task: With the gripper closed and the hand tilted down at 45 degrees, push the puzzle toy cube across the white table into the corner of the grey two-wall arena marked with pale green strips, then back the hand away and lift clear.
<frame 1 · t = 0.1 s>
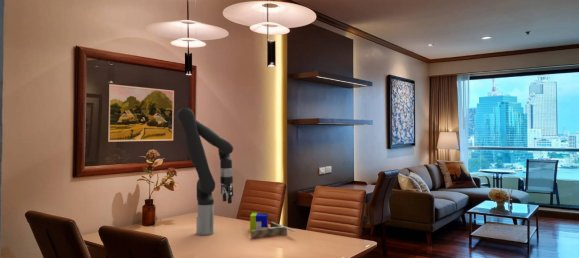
hand: (227, 202, 249), 17 cm above the table, tool pointing down, fingers open, 8 cm apart
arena: (261, 232, 245), on the table
puzzle toy: (259, 231, 250), on the table
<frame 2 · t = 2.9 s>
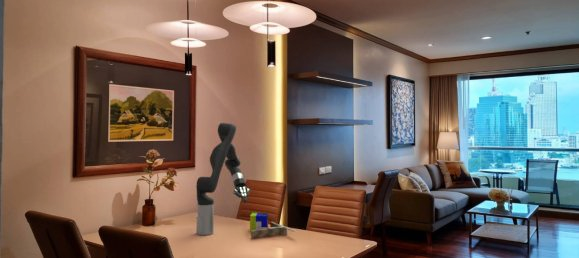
hand: (245, 201, 269), 14 cm above the table, tool tilted 45°, fingers closed
nothing on the table moved.
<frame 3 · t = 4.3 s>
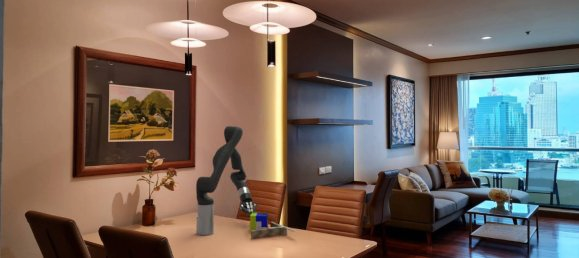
hand: (252, 217, 260), 6 cm above the table, tool tilted 45°, fingers closed
nothing on the table moved.
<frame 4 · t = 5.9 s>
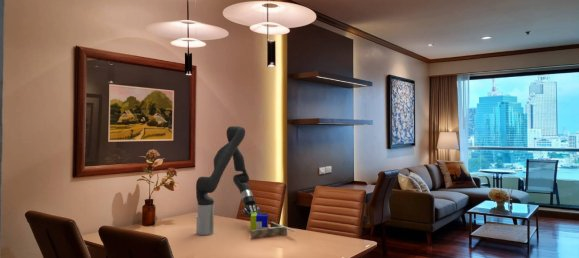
hand: (255, 221, 255), 5 cm above the table, tool tilted 45°, fingers closed
puzzle toy: (259, 231, 250), on the table, touching gripper
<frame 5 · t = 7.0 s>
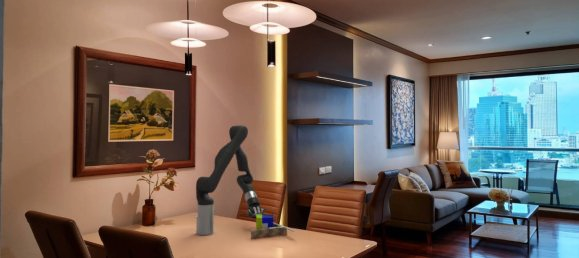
hand: (260, 223, 250), 5 cm above the table, tool tilted 45°, fingers closed
puzzle toy: (264, 233, 245), on the table, touching gripper
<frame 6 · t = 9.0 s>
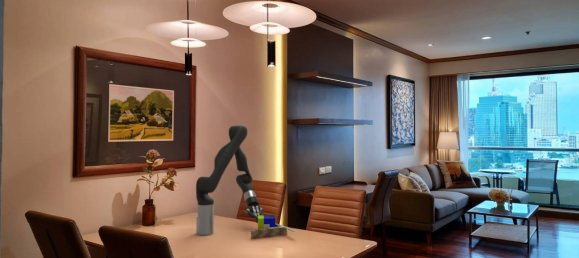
hand: (258, 222, 251), 5 cm above the table, tool tilted 45°, fingers closed
puzzle toy: (266, 234, 243), on the table
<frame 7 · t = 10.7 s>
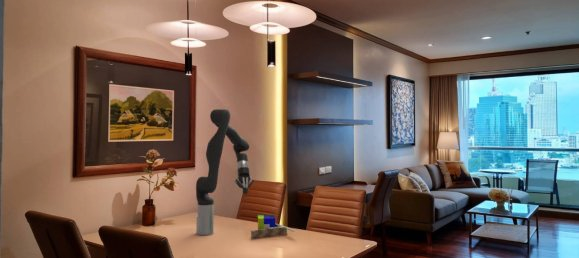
hand: (245, 194, 259), 21 cm above the table, tool tilted 30°, fingers closed
nothing on the table moved.
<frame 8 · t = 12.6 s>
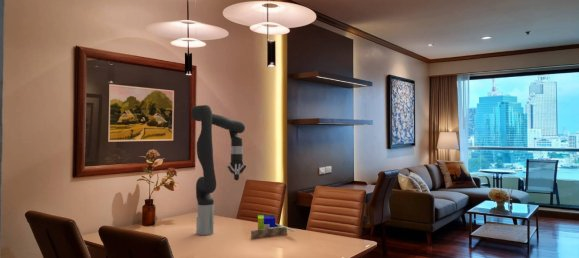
hand: (236, 180, 265), 29 cm above the table, tool pointing down, fingers closed
nothing on the table moved.
at the end: puzzle toy inside the target area (1.2 cm from its centre), on the table; puzzle toy tilted 0° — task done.
